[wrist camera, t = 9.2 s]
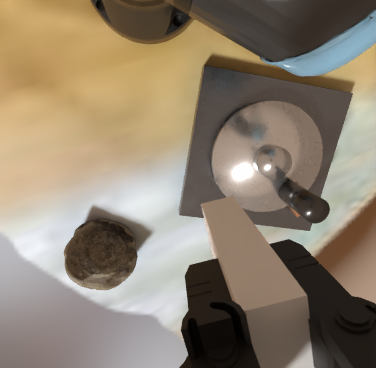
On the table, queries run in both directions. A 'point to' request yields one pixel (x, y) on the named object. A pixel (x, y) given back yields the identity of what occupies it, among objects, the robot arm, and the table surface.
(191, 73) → the table surface
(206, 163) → the clock base
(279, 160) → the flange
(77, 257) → the fossil
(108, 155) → the table surface
